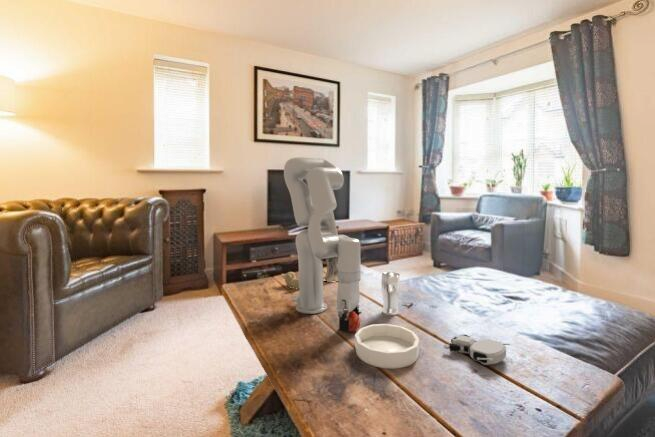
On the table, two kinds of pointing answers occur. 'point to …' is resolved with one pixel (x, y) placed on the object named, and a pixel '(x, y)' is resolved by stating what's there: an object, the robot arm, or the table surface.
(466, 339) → the robot toy
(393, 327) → the fruit bowl
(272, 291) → the table surface
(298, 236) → the robot arm
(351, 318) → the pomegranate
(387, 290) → the beer glass
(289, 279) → the cat figurine
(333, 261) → the tree stump
